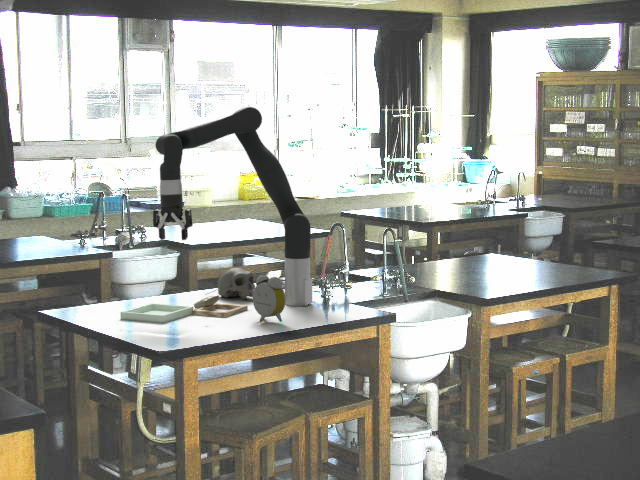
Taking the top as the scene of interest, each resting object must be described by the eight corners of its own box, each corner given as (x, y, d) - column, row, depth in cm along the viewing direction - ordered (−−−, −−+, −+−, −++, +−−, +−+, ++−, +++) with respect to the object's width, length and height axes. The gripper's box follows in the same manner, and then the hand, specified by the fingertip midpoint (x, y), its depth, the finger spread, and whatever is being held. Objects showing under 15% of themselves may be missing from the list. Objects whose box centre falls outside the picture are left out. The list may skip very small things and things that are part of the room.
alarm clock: (286, 321, 345) (286, 277, 344) (271, 324, 341) (271, 279, 339) (263, 317, 354) (263, 273, 352) (248, 319, 349) (247, 275, 347)
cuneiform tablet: (206, 293, 361) (189, 299, 370) (211, 305, 361) (194, 311, 370) (222, 287, 365) (205, 292, 374) (227, 299, 365) (209, 304, 374)
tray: (193, 313, 360) (193, 306, 360) (163, 323, 343) (163, 315, 343) (151, 310, 367) (151, 303, 367) (120, 319, 350) (120, 311, 350)
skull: (241, 303, 383) (241, 271, 382) (211, 297, 396) (211, 267, 395) (265, 299, 391) (265, 268, 390) (234, 294, 404) (234, 264, 403)
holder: (247, 309, 368) (247, 305, 368) (225, 317, 354) (225, 312, 353) (215, 307, 373) (215, 303, 373) (192, 314, 359) (192, 310, 359)
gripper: (194, 192, 359) (196, 238, 360) (158, 192, 364) (161, 238, 366) (183, 193, 352) (186, 241, 353) (147, 193, 357) (149, 240, 359)
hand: (173, 239), depth 360 cm, fingers open, 8 cm apart
